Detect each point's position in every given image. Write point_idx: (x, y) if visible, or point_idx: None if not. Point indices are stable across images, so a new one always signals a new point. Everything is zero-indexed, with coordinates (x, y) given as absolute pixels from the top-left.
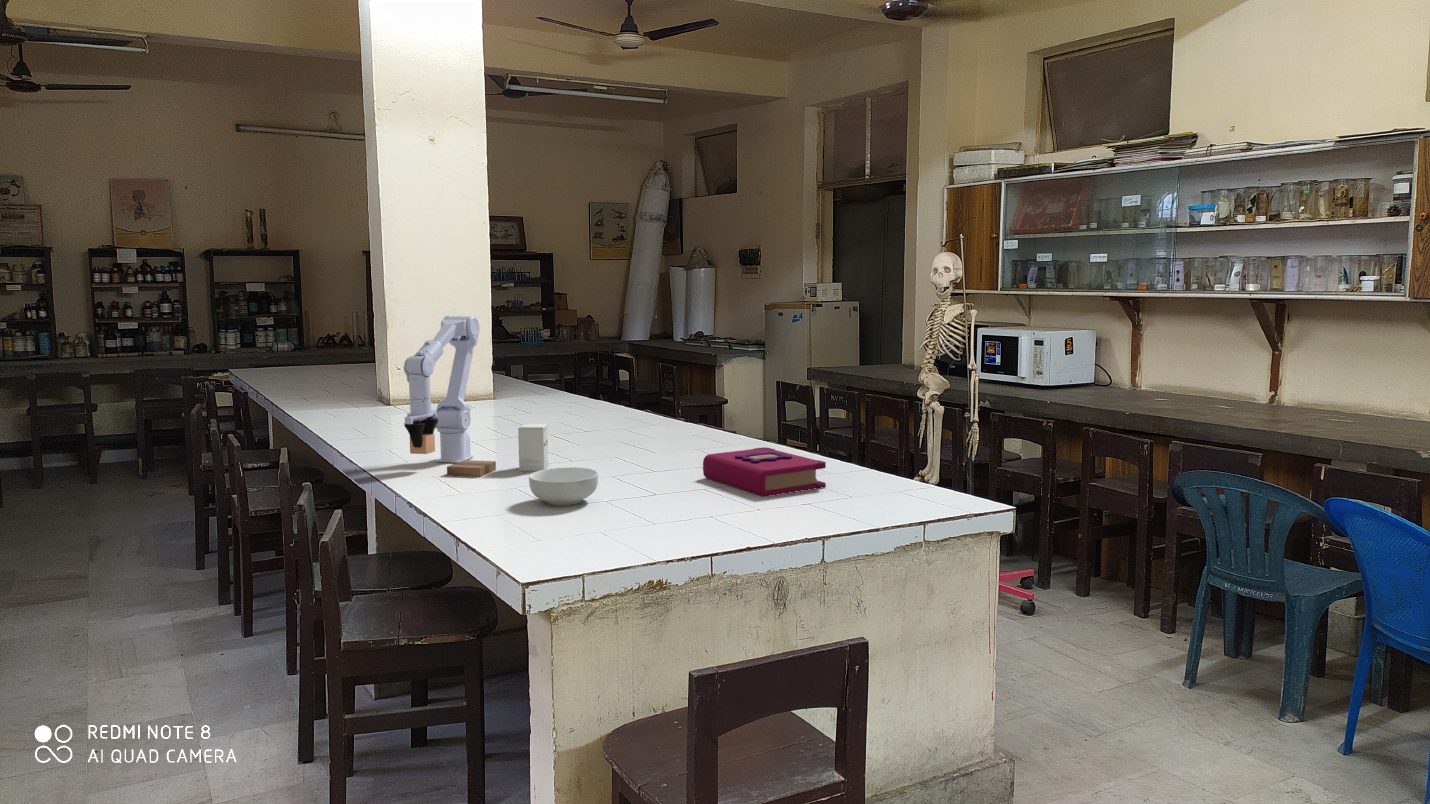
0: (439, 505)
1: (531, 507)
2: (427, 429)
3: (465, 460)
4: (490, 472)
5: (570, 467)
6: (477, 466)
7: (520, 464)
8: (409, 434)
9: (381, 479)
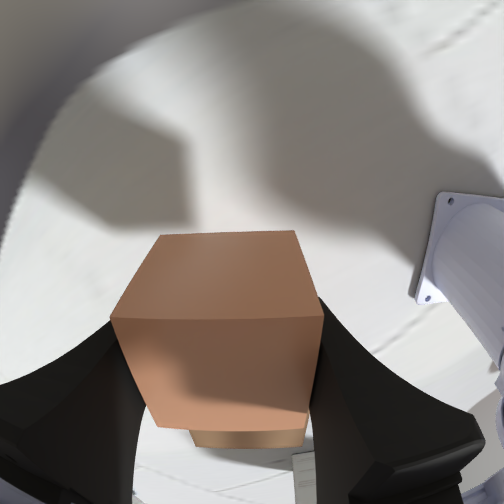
0: None
1: None
2: (321, 427)
3: None
4: None
5: None
6: (212, 440)
7: (293, 468)
8: (63, 355)
9: (32, 170)
